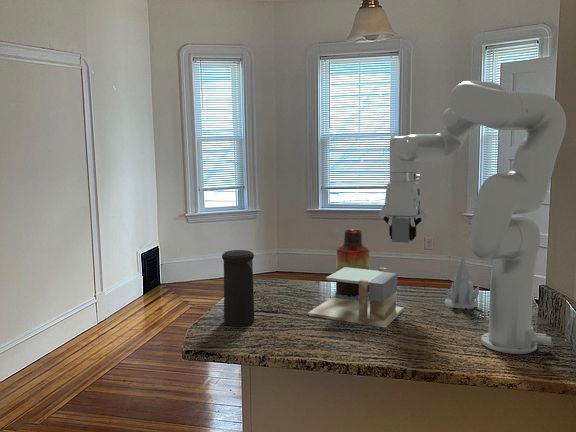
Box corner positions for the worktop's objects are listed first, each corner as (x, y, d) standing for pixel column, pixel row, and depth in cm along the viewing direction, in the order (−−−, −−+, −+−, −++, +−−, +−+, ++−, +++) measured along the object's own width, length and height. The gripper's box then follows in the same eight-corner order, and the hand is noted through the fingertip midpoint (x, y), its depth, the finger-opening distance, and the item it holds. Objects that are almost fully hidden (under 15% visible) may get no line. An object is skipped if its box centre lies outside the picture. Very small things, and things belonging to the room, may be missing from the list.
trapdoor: (397, 289, 161) (398, 272, 160) (382, 302, 149) (382, 284, 148) (344, 283, 169) (344, 267, 168) (325, 294, 156) (325, 277, 156)
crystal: (474, 297, 175) (475, 251, 172) (481, 310, 162) (483, 260, 160) (441, 296, 176) (443, 250, 174) (446, 309, 163) (448, 259, 161)
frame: (404, 309, 163) (404, 269, 161) (385, 328, 147) (385, 284, 146) (332, 299, 173) (332, 262, 172) (307, 315, 158) (307, 274, 156)
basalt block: (413, 240, 167) (413, 217, 166) (408, 242, 162) (408, 219, 162) (397, 239, 169) (397, 216, 168) (392, 241, 165) (391, 218, 164)
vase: (371, 296, 177) (372, 233, 174) (337, 296, 177) (337, 233, 174) (366, 287, 187) (367, 228, 184) (334, 287, 187) (335, 228, 185)
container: (261, 321, 154) (260, 250, 151) (237, 329, 147) (235, 255, 144) (240, 314, 159) (239, 246, 157) (216, 322, 153) (214, 251, 150)
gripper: (434, 177, 163) (434, 238, 165) (379, 177, 171) (379, 236, 173) (428, 179, 156) (428, 242, 158) (370, 178, 164) (371, 239, 166)
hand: (402, 238), depth 166 cm, fingers closed on basalt block, 5 cm apart
